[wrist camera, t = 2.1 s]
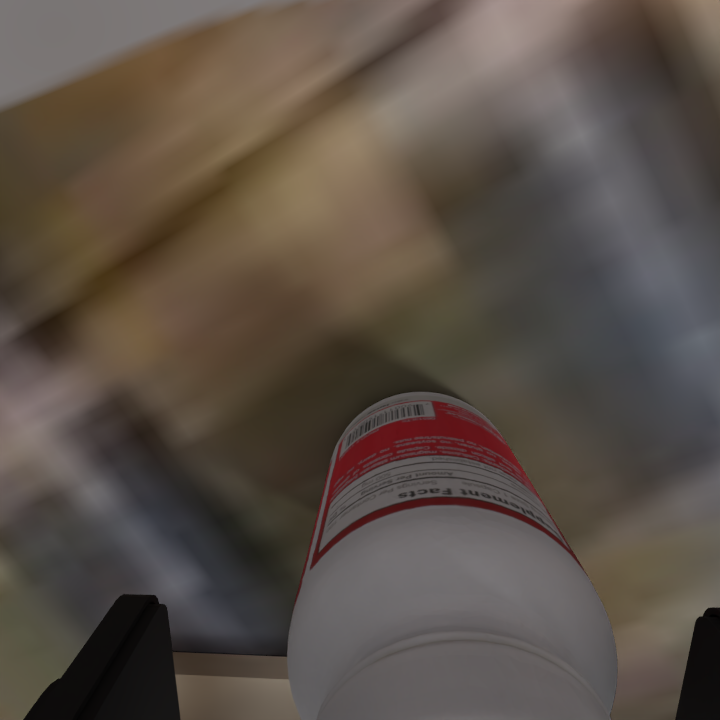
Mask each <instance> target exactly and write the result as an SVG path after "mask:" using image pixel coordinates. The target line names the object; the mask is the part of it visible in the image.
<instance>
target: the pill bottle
mask: <svg viewBox="0 0 720 720" xmlns="http://www.w3.org/2000/svg"><path fill="white" fill-rule="evenodd" d="M287 664H288V677H289V682H290V687H291V692H292V696H293V700H294V702H295V705H296V708H297V710H298V713H299V715H300V718H301V720H611V718H610V713H611V710H612V706H613V702H614V698H615V693H616V685H617V653H616V646H615V641H614V636H613V632H612V627H611V624H610V621H609V619H608V616H607V613H606V611H605V608H604V606H603V604H602V602H601V600H600V598H599V596H598V594H597V592H596V590H595V589H594V587H593V585H592V583H591V581H590V579H589V578H588V576H587V574H586V572H585V571H584V569H583V567H582V566H581V564H580V562H579V561H578V559H577V558H576V556H575V554H574V553H573V551H572V550H571V548H570V547H569V545H568V543H567V542H566V540H565V538H564V536H563V535H562V533H561V531H560V530H559V528H558V527H557V525H556V523H555V522H554V520H553V519H552V517H551V515H550V514H549V512H548V510H547V509H546V507H545V505H544V504H543V502H542V500H541V499H540V497H539V495H538V494H537V492H536V490H535V489H534V487H533V485H532V484H531V482H530V480H529V479H528V477H527V475H526V474H525V472H524V471H523V469H522V467H521V466H520V464H519V463H518V461H517V459H516V458H515V456H514V454H513V453H512V451H511V449H510V448H509V446H508V445H507V443H506V441H505V440H504V438H503V437H502V435H501V434H500V433H499V431H498V430H497V429H496V427H495V426H494V425H493V424H492V423H491V422H490V420H489V419H488V418H487V417H485V416H484V415H483V414H482V413H481V412H480V411H478V410H477V409H476V408H474V407H472V406H471V405H469V404H467V403H465V402H463V401H461V400H459V399H456V398H454V397H451V396H448V395H444V394H440V393H432V392H409V393H402V394H398V395H394V396H391V397H388V398H385V399H383V400H381V401H379V402H377V403H375V404H373V405H372V406H370V407H368V408H367V409H366V410H364V411H363V412H362V413H360V414H359V415H358V416H357V417H356V418H355V419H354V420H353V421H352V422H351V423H350V424H349V425H348V427H347V428H346V429H345V431H344V433H343V434H342V436H341V437H340V439H339V441H338V443H337V445H336V447H335V450H334V452H333V455H332V458H331V461H330V465H329V469H328V473H327V476H326V480H325V486H324V490H323V494H322V498H321V502H320V506H319V510H318V514H317V518H316V522H315V526H314V530H313V534H312V538H311V542H310V546H309V550H308V554H307V558H306V562H305V565H304V569H303V573H302V577H301V581H300V584H299V588H298V592H297V595H296V599H295V604H294V609H293V614H292V619H291V625H290V629H289V636H288V650H287Z"/></svg>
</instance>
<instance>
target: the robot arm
mask: <svg viewBox="0 0 720 720" xmlns="http://www.w3.org/2000/svg"><path fill="white" fill-rule="evenodd" d="M23 720H181V719H180V710H179V701H178V693H177V685H176V677H175V669H174V661H173V652H172V644H171V636H170V628H169V620H168V611H167V607H166V605H165V604H159V602H158V598H157V597H156V596H155V595H129V594H124V595H122V596H120V597H119V598H118V599H117V600H116V601H115V603H114V604H113V606H112V607H111V608H110V610H109V611H108V613H107V614H106V616H105V617H104V618H103V620H102V621H101V623H100V624H99V625H98V627H97V628H96V630H95V631H94V632H93V634H92V635H91V637H90V638H89V639H88V641H87V642H86V644H85V645H84V647H83V648H82V649H81V651H80V652H79V654H78V655H77V656H76V658H75V659H74V661H73V662H72V663H71V665H70V666H69V668H68V669H67V670H66V672H65V673H64V675H63V676H62V678H61V679H57V680H56V681H54V682H53V683H51V684H50V685H49V686H48V688H47V689H46V690H45V691H44V692H43V693H42V695H41V696H40V697H39V699H38V700H37V702H36V703H35V704H34V706H33V707H32V708H31V710H30V711H29V713H28V714H27V715H26V717H25V718H24V719H23ZM675 720H720V608H708V609H707V610H706V611H705V613H704V615H703V617H699V618H698V619H697V620H696V623H695V627H694V632H693V637H692V642H691V646H690V651H689V656H688V661H687V666H686V671H685V676H684V680H683V685H682V690H681V695H680V700H679V705H678V710H677V714H676V719H675Z"/></svg>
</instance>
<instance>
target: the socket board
mask: <svg viewBox="0 0 720 720" xmlns="http://www.w3.org/2000/svg"><path fill="white" fill-rule="evenodd" d="M173 661H174V669H175V677H176V685H177V693H178V701H179V710H180V719H181V720H301V718H300V715H299V713H298V710H297V708H296V705H295V702H294V700H293V696H292V692H291V687H290V682H289V677H288V664H287V657H279V656H255V655H232V654H209V653H186V652H173Z"/></svg>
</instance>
